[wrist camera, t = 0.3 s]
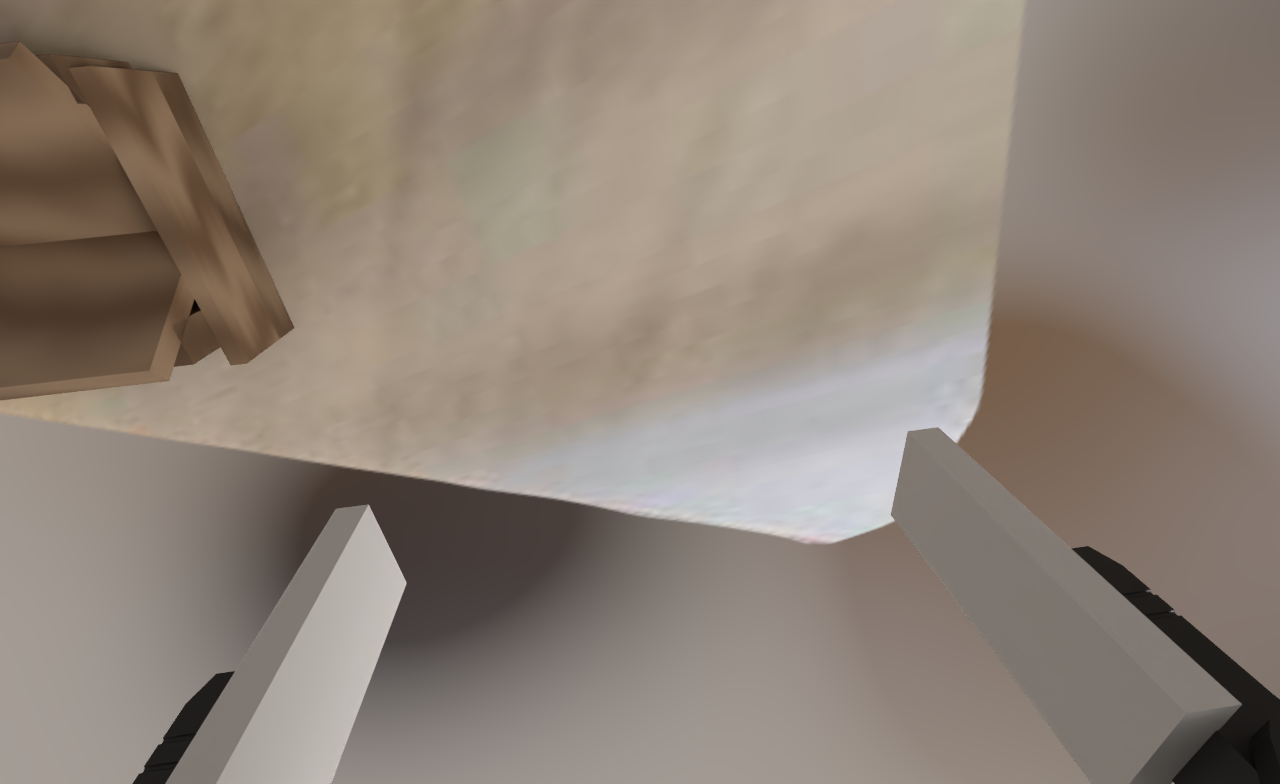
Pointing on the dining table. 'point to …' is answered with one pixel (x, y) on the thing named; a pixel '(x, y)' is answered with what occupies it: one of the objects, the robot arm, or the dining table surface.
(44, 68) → the wooden box with flaps
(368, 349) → the dining table surface
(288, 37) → the dining table surface
